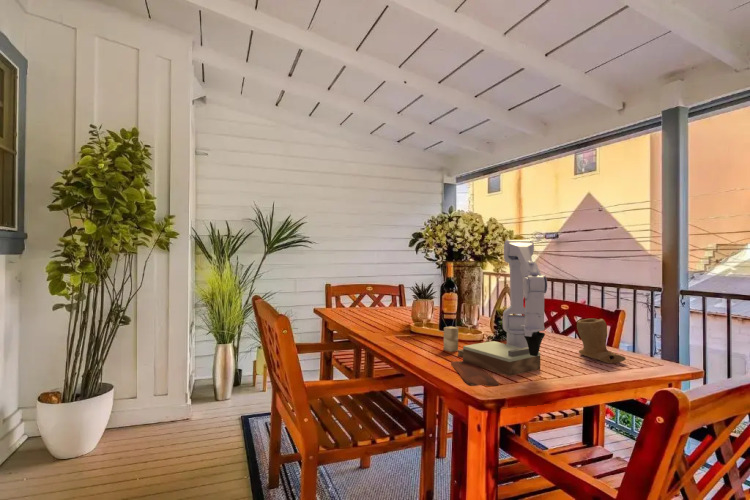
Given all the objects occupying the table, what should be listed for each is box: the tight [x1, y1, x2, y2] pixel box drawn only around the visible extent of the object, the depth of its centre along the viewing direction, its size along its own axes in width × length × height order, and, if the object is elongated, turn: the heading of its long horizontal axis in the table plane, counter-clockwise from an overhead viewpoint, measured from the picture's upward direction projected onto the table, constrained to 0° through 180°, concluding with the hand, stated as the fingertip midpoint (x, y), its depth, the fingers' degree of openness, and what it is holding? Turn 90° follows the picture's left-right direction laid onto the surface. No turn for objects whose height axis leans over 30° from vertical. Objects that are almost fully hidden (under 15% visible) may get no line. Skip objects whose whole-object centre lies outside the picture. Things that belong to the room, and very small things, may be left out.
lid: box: [462, 340, 541, 362], centre depth 141 cm, size 16×20×3 cm
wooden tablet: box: [450, 360, 500, 387], centre depth 133 cm, size 27×10×2 cm, turn 2°
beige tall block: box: [443, 325, 459, 353], centre depth 162 cm, size 4×4×9 cm
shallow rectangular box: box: [457, 348, 541, 377], centre depth 144 cm, size 16×27×4 cm, turn 33°
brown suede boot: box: [576, 318, 627, 364], centre depth 151 cm, size 15×12×15 cm
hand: (533, 355), depth 130 cm, fingers closed
